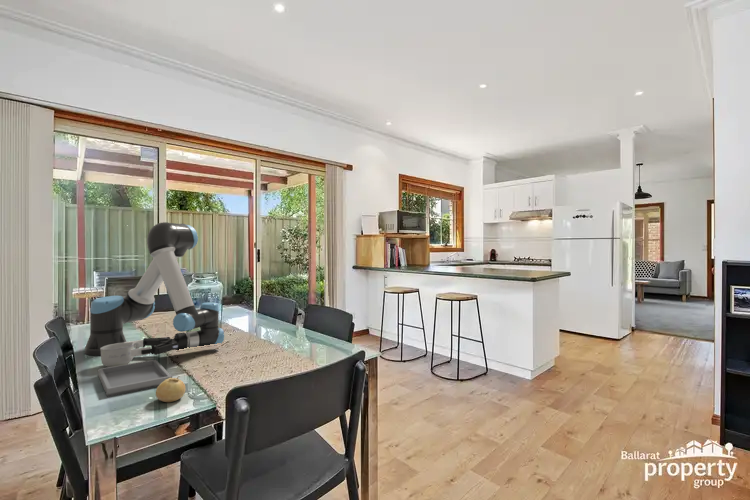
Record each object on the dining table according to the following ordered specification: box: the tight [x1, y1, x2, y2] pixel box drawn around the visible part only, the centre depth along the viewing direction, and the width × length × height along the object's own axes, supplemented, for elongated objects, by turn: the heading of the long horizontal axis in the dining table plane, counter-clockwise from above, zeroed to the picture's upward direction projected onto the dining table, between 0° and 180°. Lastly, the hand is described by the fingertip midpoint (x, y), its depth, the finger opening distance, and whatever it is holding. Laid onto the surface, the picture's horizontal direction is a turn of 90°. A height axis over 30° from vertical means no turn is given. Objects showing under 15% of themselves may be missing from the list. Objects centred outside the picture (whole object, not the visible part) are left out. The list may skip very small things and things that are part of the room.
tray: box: [97, 359, 173, 398], centre depth 130 cm, size 24×18×2 cm
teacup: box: [100, 341, 140, 368], centre depth 145 cm, size 14×11×8 cm
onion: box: [155, 376, 186, 403], centre depth 114 cm, size 8×8×7 cm
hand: (127, 349), depth 146 cm, fingers open, 13 cm apart
